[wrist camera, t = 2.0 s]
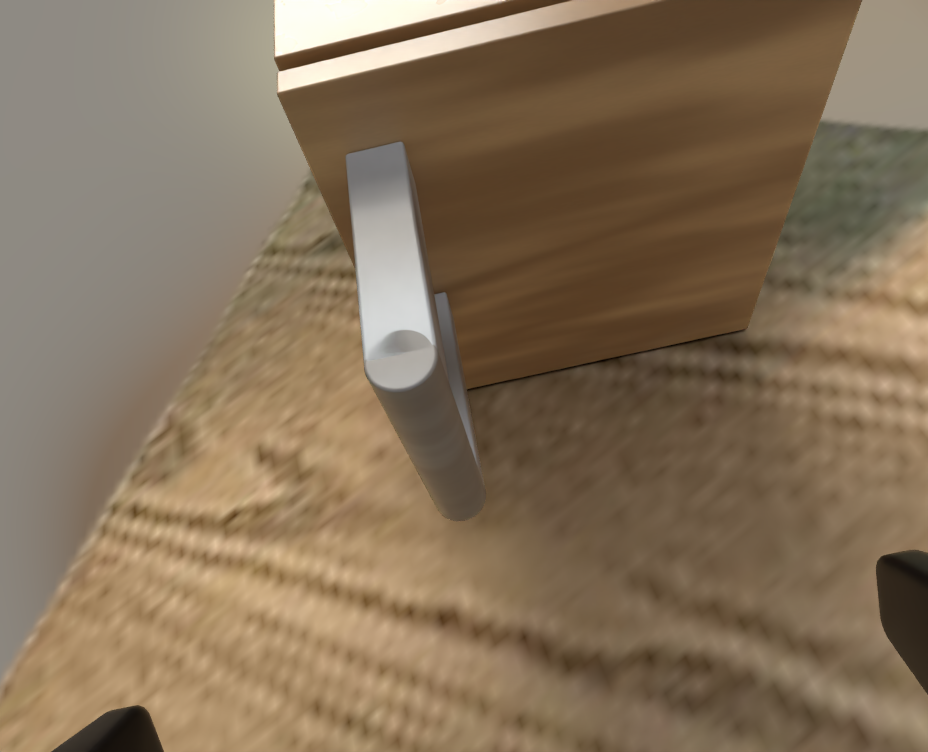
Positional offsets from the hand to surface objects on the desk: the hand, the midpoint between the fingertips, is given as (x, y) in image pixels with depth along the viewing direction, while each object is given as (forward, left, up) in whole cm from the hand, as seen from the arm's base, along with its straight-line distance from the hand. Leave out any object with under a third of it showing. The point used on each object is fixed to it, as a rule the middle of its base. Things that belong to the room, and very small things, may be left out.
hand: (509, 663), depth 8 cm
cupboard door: (+9, -2, -13) cm, 16 cm away
